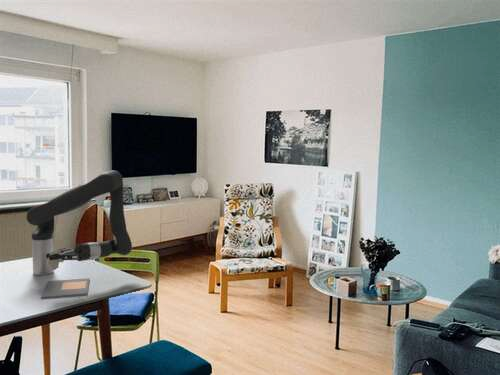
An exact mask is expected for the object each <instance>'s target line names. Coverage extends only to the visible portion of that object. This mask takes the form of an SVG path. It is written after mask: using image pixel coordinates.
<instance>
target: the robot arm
mask: <svg viewBox="0 0 500 375" xmlns="http://www.w3.org/2000/svg"><path fill="white" fill-rule="evenodd" d="M106 194H109V197H110V208H109V214H108V221H109V226H110V228H109V229H110V232H111V234H112V236H113V237H114V238H113V239H110V240H107V241H97V242H92V241H91V242H84V243H78V244H75V246H74V248H72V247H70V248H66V247H62V248H58V249H59V250H60V252H61V253H59V254H52V255H50V253H51V252H52V251H53V249H54V242H53V239H54V238H53V235H54V232H55V217H57V216H58V215H59V216H60V215H63V214H65V213H69V212H72V211H75V210H77V209H79V208H81V207H83V206H85V205H86V204H88V203H89V202H90V201H91V200H93V199H94V198H97V197H99V196H102V195H106ZM124 209H125V208H124V180H123V176H122V174H121V173H120V172H119V171H117V170H108V171H106V172H102V173H101V174H99V175H98V176H97V177H94V178H93V179H92V180H90V181H88V182H87V183H84V184H81V185H78V186H75V187H73V188H71V189H69V190H66V191H65V192H62V193H61V194H59V195H58V196H56V197H54V198H52V199H50V200H48V201H47V202H45V203H42V204H40V205H36V206H33V207H31V208H30V209H29V210H28V212H27V213H26V221H27V223H29V225H32V226H36V229H35V230H34V231H33V232H32V233H31V252H32V275H34V276H46V275H50V274H53V273H54V272H55V270H50V269H49V268H50V264H47V265H46V262H47V260H48V258H49V260H56V259H59V260H61V259H62V260H64V261H77V262H83V261H89V260H95V259H99V258H107V257H109V256H110V255H114V254H117V255H121V256H128V255H129V254H130V253H131V252H132V250H133V247H132V246H133V242H132V240H131V237H130V234H129V232H128V230H127V223H126V218H125V210H124Z"/></svg>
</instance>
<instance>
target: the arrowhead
mask: <svg viewBox="0 0 500 375" xmlns="http://www.w3.org/2000/svg"><path fill="white" fill-rule="evenodd" d="M59 249H60V248H59V247H57V246H56V247H54V248H53V251H52V252H51V253H50V255H52V254H59V253H61V252H60V250H59ZM64 261H65V260H62V259H61V260H59V259H56V260H49V258H48V260H47V262H46V265H47V264H50V268H49V269H50V270H54V271H55V270H57V269H59V264H60V263H64Z"/></svg>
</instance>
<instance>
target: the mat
mask: <svg viewBox="0 0 500 375" xmlns="http://www.w3.org/2000/svg"><path fill="white" fill-rule="evenodd" d="M89 285H90V278H89V277H87V278H74V279H73V278H72V279H71V278H70V279H61V280H60V279H59V280H58V279H57V280H47V282H46V285H45V287H44V289H43V292H42V294H41V296H40V299H41V300H44V299H56V298H58V299H59V298H68V297H79V296H81V297H82V296H88V292H89Z"/></svg>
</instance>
